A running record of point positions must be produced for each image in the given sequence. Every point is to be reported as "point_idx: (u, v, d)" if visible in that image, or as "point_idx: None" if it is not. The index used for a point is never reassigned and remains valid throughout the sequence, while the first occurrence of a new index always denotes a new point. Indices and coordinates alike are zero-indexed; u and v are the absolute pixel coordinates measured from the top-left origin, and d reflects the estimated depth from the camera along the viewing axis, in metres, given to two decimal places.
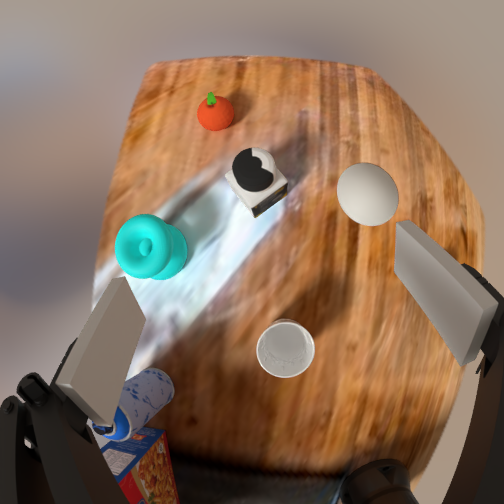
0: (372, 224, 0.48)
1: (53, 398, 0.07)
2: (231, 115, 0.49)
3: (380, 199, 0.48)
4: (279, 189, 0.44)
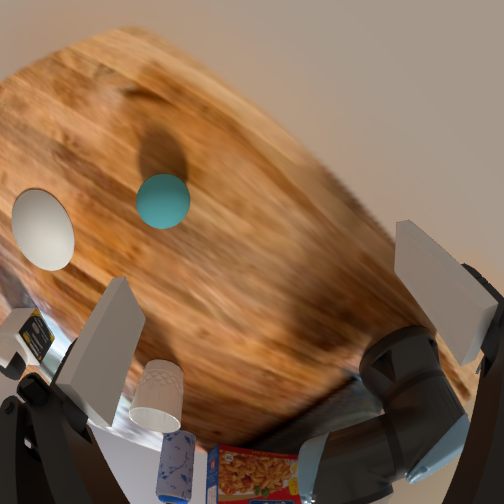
0: (72, 249, 0.32)
1: (53, 398, 0.07)
2: None
3: (48, 222, 0.31)
4: (25, 338, 0.33)
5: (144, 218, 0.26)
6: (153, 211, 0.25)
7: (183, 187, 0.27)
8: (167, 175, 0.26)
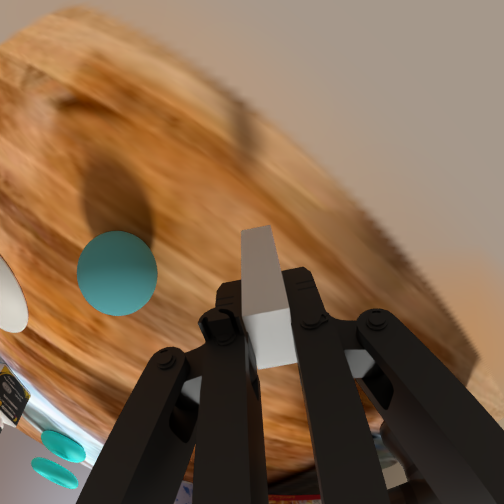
0: (25, 313, 0.22)
1: (243, 342, 0.08)
2: None
3: None
4: None
5: (90, 303, 0.16)
6: (98, 298, 0.15)
7: (143, 255, 0.16)
8: (116, 238, 0.16)
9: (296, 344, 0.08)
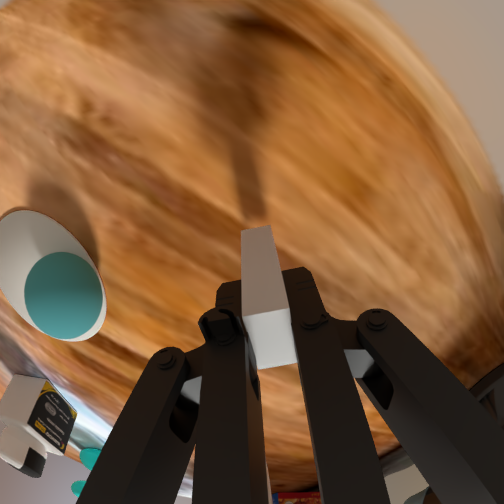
0: (102, 315, 0.19)
1: (243, 342, 0.08)
2: None
3: None
4: (39, 428, 0.19)
5: (57, 329, 0.13)
6: (71, 310, 0.13)
7: (87, 262, 0.16)
8: (60, 252, 0.15)
9: (296, 344, 0.08)
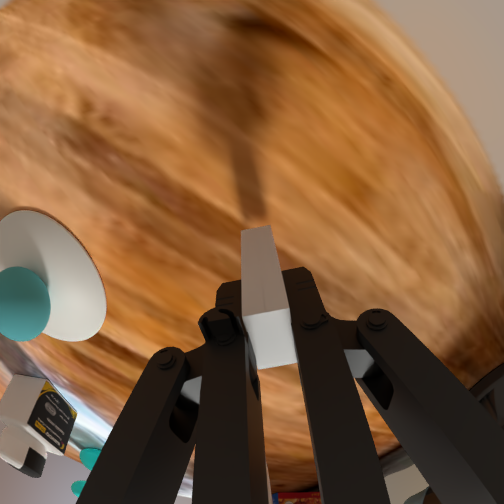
0: (102, 315, 0.19)
1: (243, 342, 0.08)
2: None
3: (53, 269, 0.17)
4: (39, 428, 0.19)
5: None
6: None
7: (2, 310, 0.13)
8: None
9: (296, 344, 0.08)
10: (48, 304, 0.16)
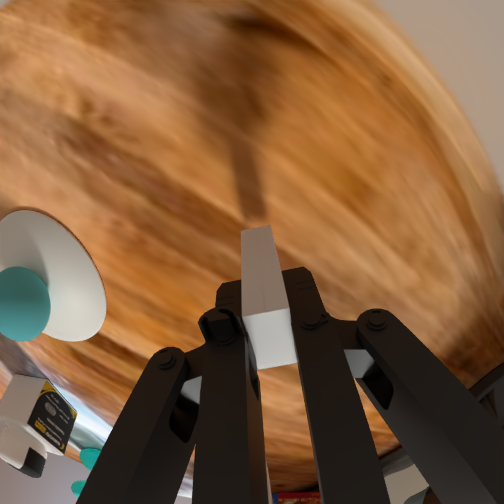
0: (102, 315, 0.19)
1: (243, 342, 0.08)
2: None
3: (53, 269, 0.17)
4: (39, 428, 0.19)
5: None
6: None
7: (2, 310, 0.13)
8: None
9: (296, 344, 0.08)
10: (48, 304, 0.16)
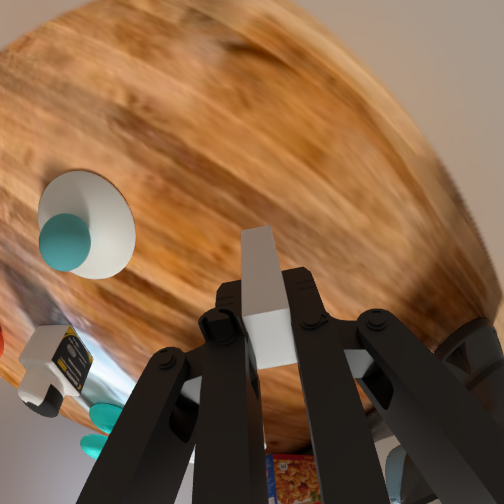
0: (131, 250, 0.27)
1: (243, 342, 0.08)
2: None
3: (95, 215, 0.25)
4: (61, 366, 0.27)
5: None
6: None
7: (56, 241, 0.21)
8: (52, 222, 0.21)
9: (296, 344, 0.08)
10: (90, 240, 0.24)
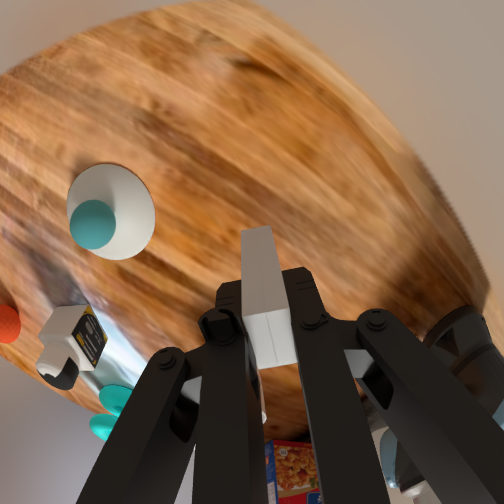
0: (150, 233, 0.32)
1: (243, 343, 0.08)
2: (5, 317, 0.33)
3: (120, 202, 0.30)
4: (79, 341, 0.32)
5: None
6: None
7: (87, 221, 0.26)
8: (83, 206, 0.26)
9: (296, 344, 0.08)
10: (115, 223, 0.29)
